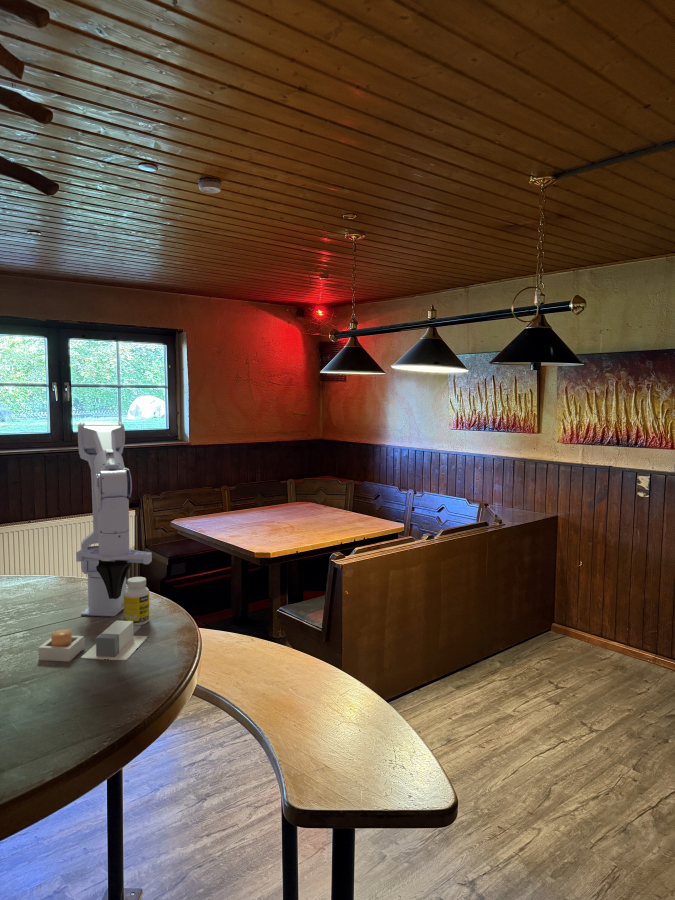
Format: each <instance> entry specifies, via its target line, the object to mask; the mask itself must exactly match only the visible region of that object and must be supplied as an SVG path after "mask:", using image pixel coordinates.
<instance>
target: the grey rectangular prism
mask: <svg viewBox="0 0 675 900" xmlns="http://www.w3.org/2000/svg"><path fill="white" fill-rule="evenodd" d="M133 636H134V634H133V621H124V620H118V619H117V620H115V621H114V622H112V624H110V625H109V626H108V627H107V628H106V629H105V630H104V631H103V632H101V633H100V634H98V635H97V636H96V637H95V644H96V656H105V657H115V656H116V655H117V654H118V653H119V652H120V651H121V650H122V649H123V648H124V647H125V646H126V645H127V644H128V643H129V642H130V641H131V640H132V639H133Z"/></svg>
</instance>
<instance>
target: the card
mask: <svg viewBox="0 0 675 900" xmlns="http://www.w3.org/2000/svg"><path fill="white" fill-rule="evenodd" d="M139 629H141V625H138V626H133V635H134V634H136V633H137V632H138V630H139Z"/></svg>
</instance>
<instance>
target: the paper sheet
mask: <svg viewBox="0 0 675 900" xmlns="http://www.w3.org/2000/svg"><path fill="white" fill-rule="evenodd" d="M147 637H148V638H149V636H146V635H133V639H132V640H131V641H130V642H129V643H128V644H127V645H126V646H125V647H124V648H123V649H122V650H121V651H120V652H119V653H118V654H117V655H116V656H115V657H105V656H96V643H95V644H93V646H92V647H90V649H88V650H87V651H86V652H85V653H84V654H83V655H82V656H80V659H89V660H104V659H106V660H107V659H109V660H108V661H111V660H112V661H126V660H127V661H128V660H129V658H130V657H132V655H134V653H135V652H136V651H137V650H136V649H137V648H138V649H139V647H140V646H141V645H142V644H143V643H144V642H145V641H146V640H147V639H148V638H147Z"/></svg>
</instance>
